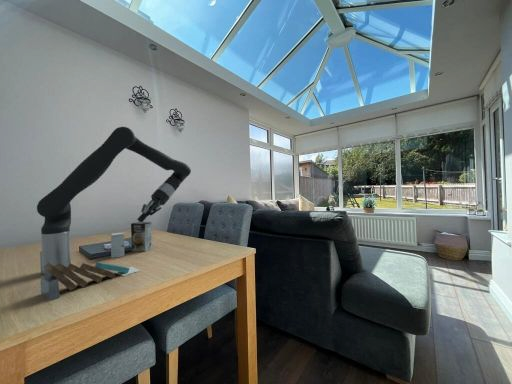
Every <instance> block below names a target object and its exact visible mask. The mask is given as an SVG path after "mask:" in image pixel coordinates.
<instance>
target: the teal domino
mask: <svg viewBox="0 0 512 384" xmlns="http://www.w3.org/2000/svg"><path fill="white" fill-rule="evenodd" d="M94 267H97V268H100V269H104V270H107V271H111V272H116V271H118V272H125V273H128V271H129V269H130V267H127V266H124V265H123V266H122V265H117V264H111V263H105V262H100V261H96V263H95V265H94Z"/></svg>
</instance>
